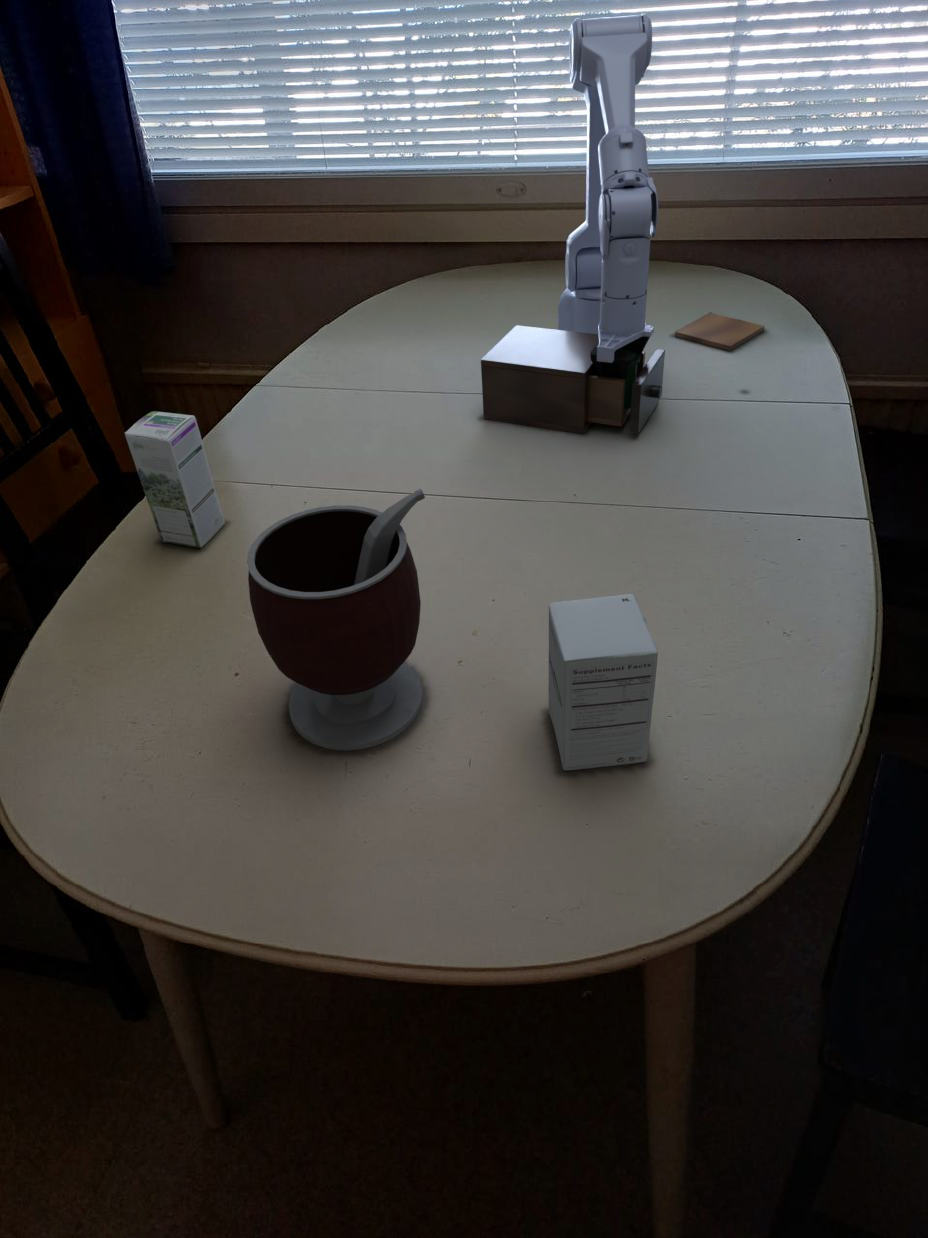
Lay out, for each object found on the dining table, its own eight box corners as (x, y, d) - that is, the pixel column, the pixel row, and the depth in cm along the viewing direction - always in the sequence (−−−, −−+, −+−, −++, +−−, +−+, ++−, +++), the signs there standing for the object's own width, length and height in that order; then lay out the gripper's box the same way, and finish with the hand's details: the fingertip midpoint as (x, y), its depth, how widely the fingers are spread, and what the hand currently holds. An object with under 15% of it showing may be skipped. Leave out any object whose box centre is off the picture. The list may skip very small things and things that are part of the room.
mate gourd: (304, 778, 76) (254, 590, 63) (264, 678, 86) (215, 499, 73) (471, 718, 80) (456, 531, 67) (415, 630, 90) (393, 452, 77)
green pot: (592, 404, 122) (593, 358, 118) (614, 391, 125) (616, 346, 120) (622, 414, 119) (624, 368, 115) (644, 400, 122) (647, 355, 118)
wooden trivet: (674, 336, 143) (675, 331, 143) (709, 317, 148) (709, 312, 148) (730, 351, 137) (730, 346, 137) (764, 330, 143) (764, 325, 142)
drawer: (670, 398, 124) (674, 350, 120) (647, 435, 117) (650, 386, 112) (569, 384, 130) (569, 338, 125) (541, 419, 122) (540, 371, 118)
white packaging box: (546, 711, 80) (546, 599, 72) (628, 702, 80) (637, 590, 72) (560, 774, 74) (561, 660, 66) (649, 764, 75) (661, 650, 67)
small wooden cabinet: (612, 394, 128) (615, 335, 123) (583, 434, 120) (585, 373, 114) (517, 381, 134) (516, 324, 128) (483, 418, 125) (480, 359, 120)
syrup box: (227, 523, 108) (197, 412, 99) (200, 550, 104) (166, 437, 94) (186, 517, 110) (153, 407, 100) (158, 544, 105) (121, 431, 96)
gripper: (638, 314, 106) (632, 420, 114) (670, 275, 116) (662, 374, 124) (581, 309, 108) (579, 412, 117) (617, 270, 118) (613, 368, 127)
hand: (618, 392), depth 121 cm, fingers closed on drawer, green pot, 5 cm apart
